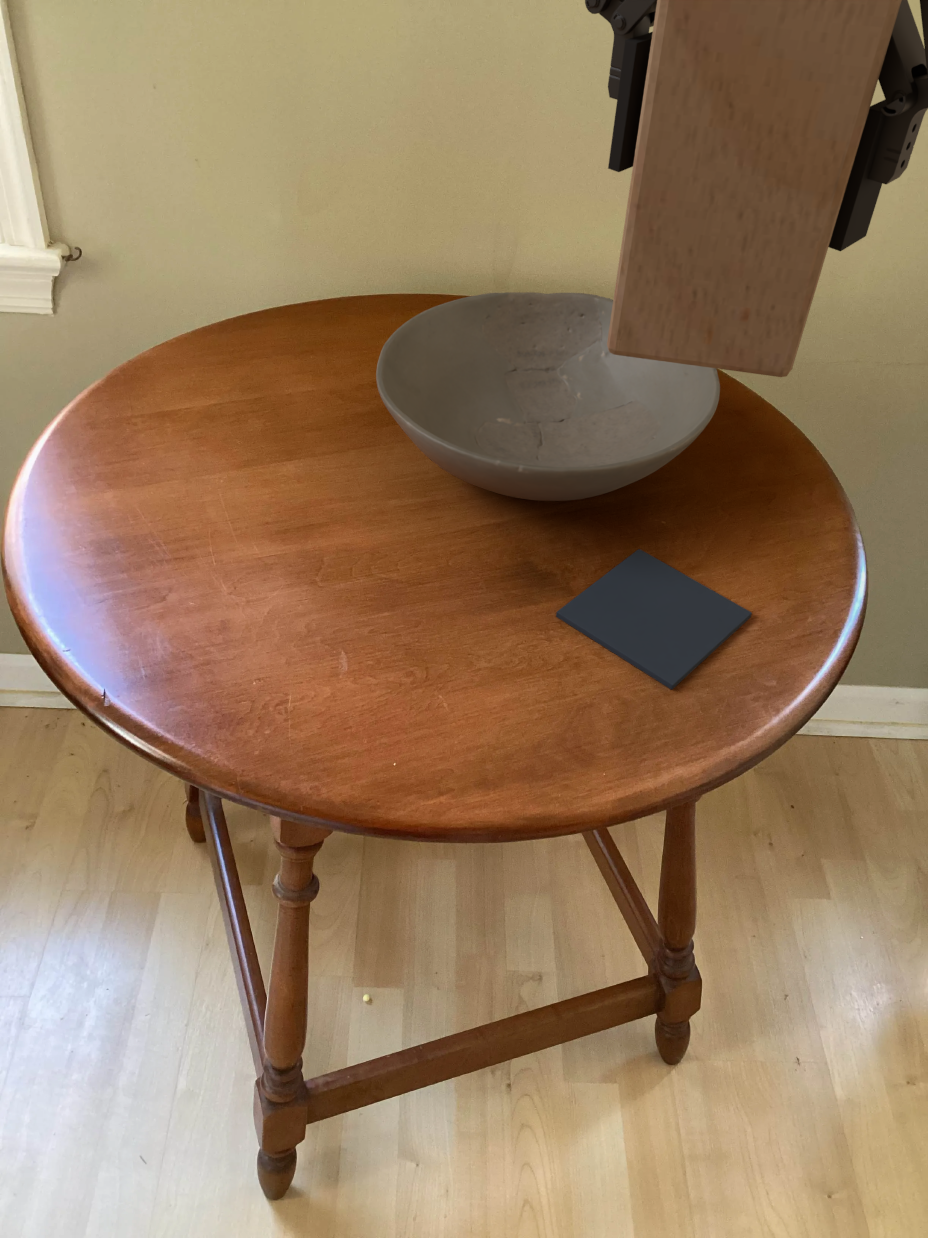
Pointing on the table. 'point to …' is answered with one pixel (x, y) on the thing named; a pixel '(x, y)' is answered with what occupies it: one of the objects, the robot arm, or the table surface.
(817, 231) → the wooden block
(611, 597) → the mat
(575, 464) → the bowl
